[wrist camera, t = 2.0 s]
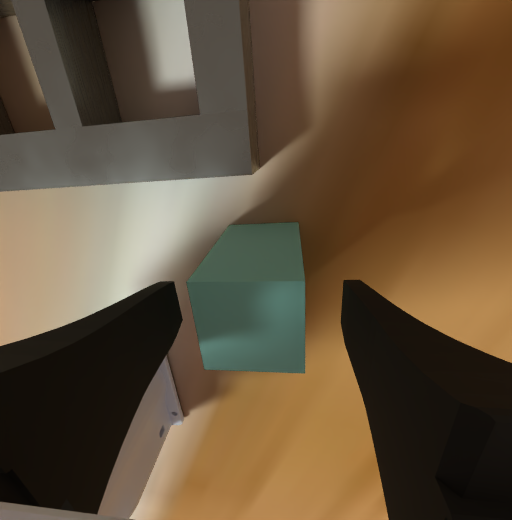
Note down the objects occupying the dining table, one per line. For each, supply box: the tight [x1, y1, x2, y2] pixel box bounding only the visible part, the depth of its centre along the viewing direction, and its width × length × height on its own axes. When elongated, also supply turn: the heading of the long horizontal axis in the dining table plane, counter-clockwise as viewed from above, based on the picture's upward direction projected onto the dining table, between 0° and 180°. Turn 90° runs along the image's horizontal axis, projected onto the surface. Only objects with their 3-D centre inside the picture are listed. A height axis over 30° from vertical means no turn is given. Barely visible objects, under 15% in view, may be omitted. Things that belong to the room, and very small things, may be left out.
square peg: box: [186, 222, 305, 373], centre depth 13 cm, size 4×4×7 cm
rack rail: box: [0, 0, 260, 192], centre depth 12 cm, size 10×22×3 cm, turn 94°
